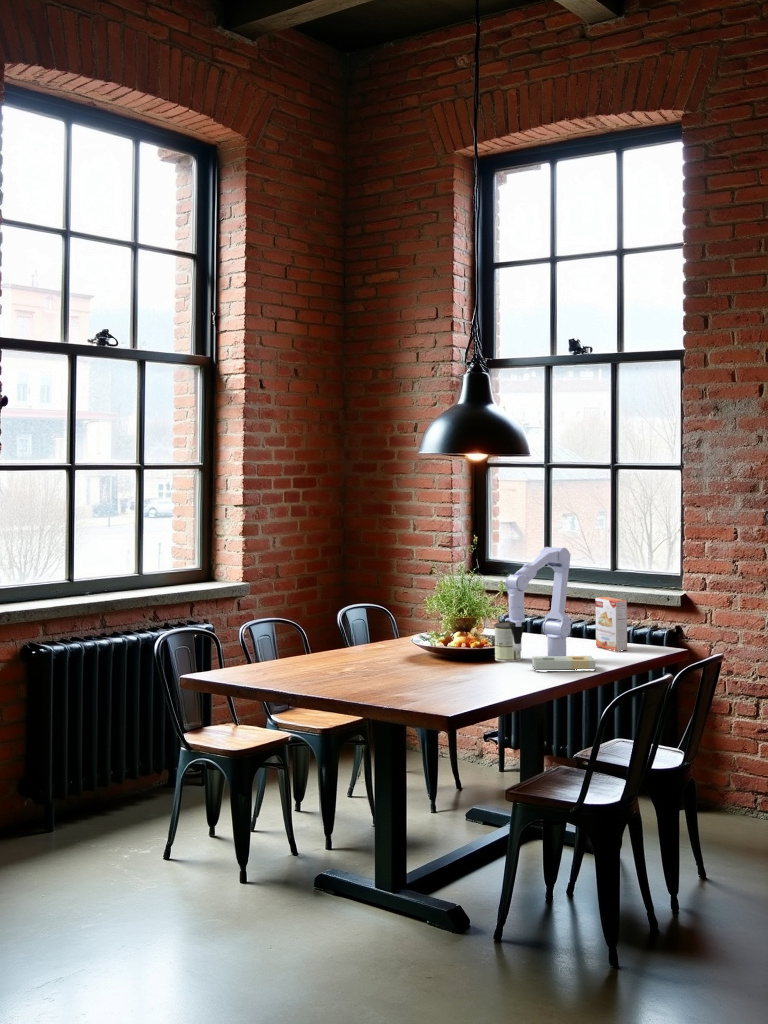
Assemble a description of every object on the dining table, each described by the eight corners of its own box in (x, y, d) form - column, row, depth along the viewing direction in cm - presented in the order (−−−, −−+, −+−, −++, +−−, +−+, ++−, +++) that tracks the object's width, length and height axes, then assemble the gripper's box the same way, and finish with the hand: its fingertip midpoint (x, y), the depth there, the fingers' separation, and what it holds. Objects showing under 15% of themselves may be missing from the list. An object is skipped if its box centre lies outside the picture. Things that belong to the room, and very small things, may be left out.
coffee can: (494, 657, 432) (494, 622, 431) (520, 657, 431) (520, 622, 430) (494, 662, 422) (494, 626, 421) (521, 662, 421) (520, 626, 420)
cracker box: (595, 647, 450) (594, 597, 449) (606, 646, 453) (606, 596, 452) (615, 652, 437) (615, 600, 436) (627, 651, 440) (627, 599, 439)
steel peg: (512, 649, 409) (512, 628, 408) (521, 649, 409) (520, 628, 408) (513, 651, 406) (513, 630, 405) (521, 651, 405) (521, 630, 405)
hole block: (532, 667, 410) (532, 656, 410) (591, 666, 409) (591, 655, 409) (535, 672, 400) (535, 661, 400) (595, 671, 400) (595, 660, 399)
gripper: (504, 604, 414) (504, 639, 414) (507, 609, 399) (508, 646, 400) (522, 604, 413) (523, 639, 414) (526, 609, 399) (527, 646, 400)
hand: (517, 642), depth 407 cm, fingers closed on steel peg, 3 cm apart
